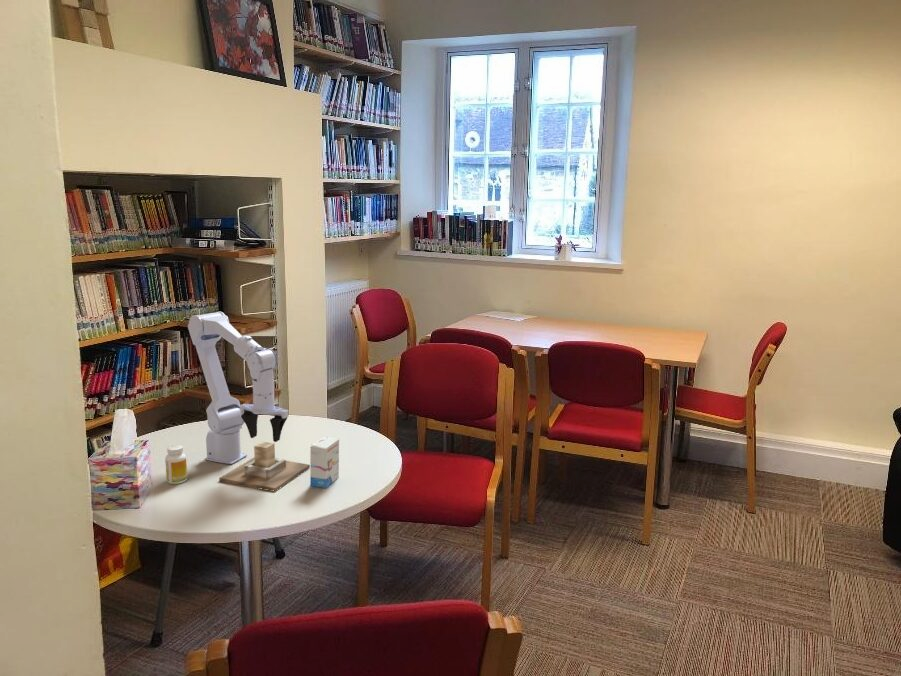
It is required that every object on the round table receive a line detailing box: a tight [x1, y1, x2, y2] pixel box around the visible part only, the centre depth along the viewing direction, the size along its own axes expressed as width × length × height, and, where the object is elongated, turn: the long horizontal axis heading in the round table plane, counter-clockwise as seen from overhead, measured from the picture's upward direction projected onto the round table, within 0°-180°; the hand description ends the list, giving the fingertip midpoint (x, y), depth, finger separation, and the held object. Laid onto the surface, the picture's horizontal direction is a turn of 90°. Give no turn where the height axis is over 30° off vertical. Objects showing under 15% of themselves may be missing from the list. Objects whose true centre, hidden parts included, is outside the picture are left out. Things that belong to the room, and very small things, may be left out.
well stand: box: [218, 456, 311, 492], centre depth 209 cm, size 18×18×4 cm
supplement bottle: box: [164, 444, 188, 485], centre depth 203 cm, size 5×5×10 cm
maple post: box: [253, 441, 276, 468], centre depth 208 cm, size 4×4×8 cm
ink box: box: [309, 436, 340, 489], centre depth 204 cm, size 9×5×12 cm, turn 163°
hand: (265, 438), depth 208 cm, fingers open, 7 cm apart
